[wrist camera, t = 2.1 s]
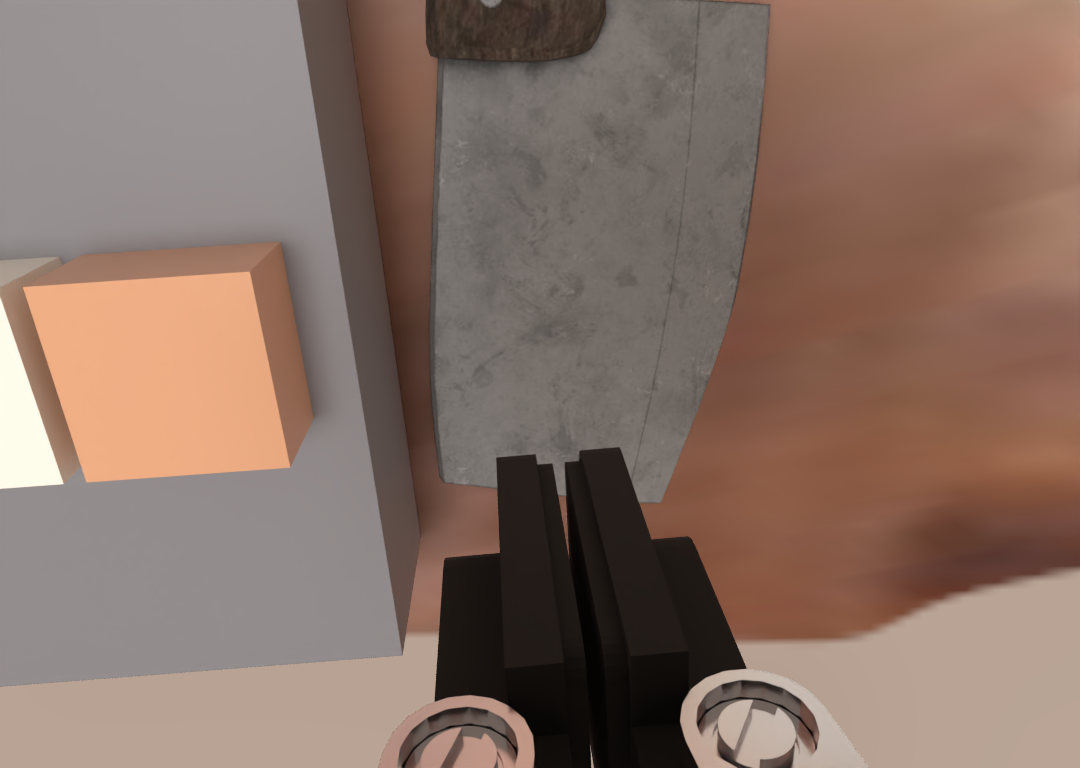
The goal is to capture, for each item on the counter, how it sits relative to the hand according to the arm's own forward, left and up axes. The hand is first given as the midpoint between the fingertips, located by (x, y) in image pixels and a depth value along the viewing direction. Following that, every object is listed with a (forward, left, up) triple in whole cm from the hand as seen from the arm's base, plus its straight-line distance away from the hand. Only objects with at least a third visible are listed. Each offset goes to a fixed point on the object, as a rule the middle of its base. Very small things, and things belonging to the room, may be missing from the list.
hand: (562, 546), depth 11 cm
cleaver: (-2, -6, -16) cm, 17 cm away
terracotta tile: (+8, 0, -9) cm, 12 cm away
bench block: (+10, 0, -15) cm, 19 cm away
